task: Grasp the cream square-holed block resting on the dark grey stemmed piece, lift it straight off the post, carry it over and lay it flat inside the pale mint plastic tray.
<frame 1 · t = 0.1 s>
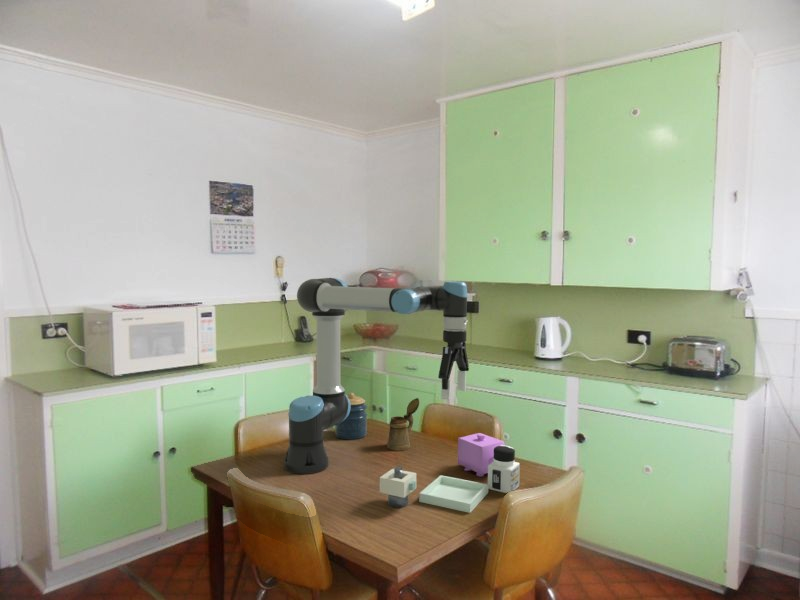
hand: (453, 394, 187), 28 cm above the table, fingers open, 13 cm apart
dark grey stemmed piece: (398, 503, 169), on the table
canister: (351, 435, 234), on the table
container: (503, 488, 182), on the table
cream square-holed block: (398, 490, 169), point 4 cm above the table, touching dark grey stemmed piece
teapot: (483, 472, 195), on the table
wooden mug: (403, 446, 221), on the table
tray: (454, 497, 174), on the table
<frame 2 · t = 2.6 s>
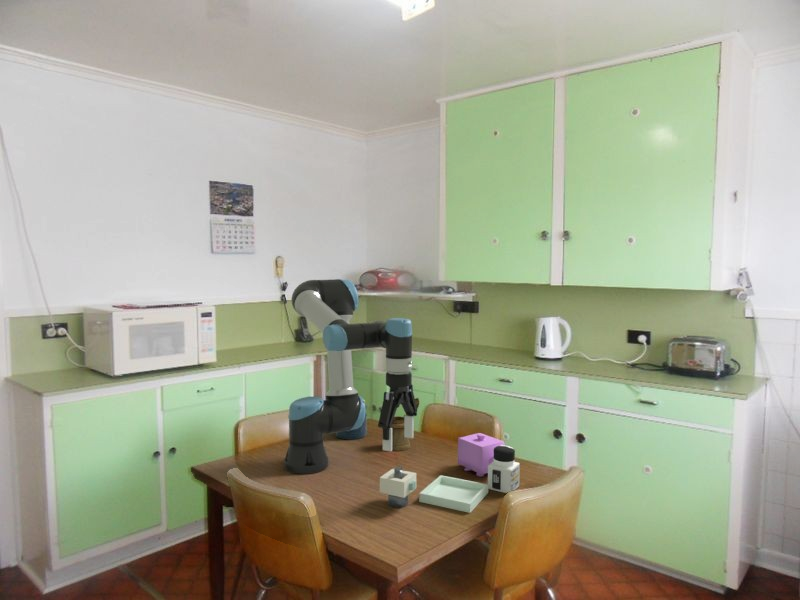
hand: (398, 443, 168), 18 cm above the table, fingers open, 13 cm apart
nothing on the table moved.
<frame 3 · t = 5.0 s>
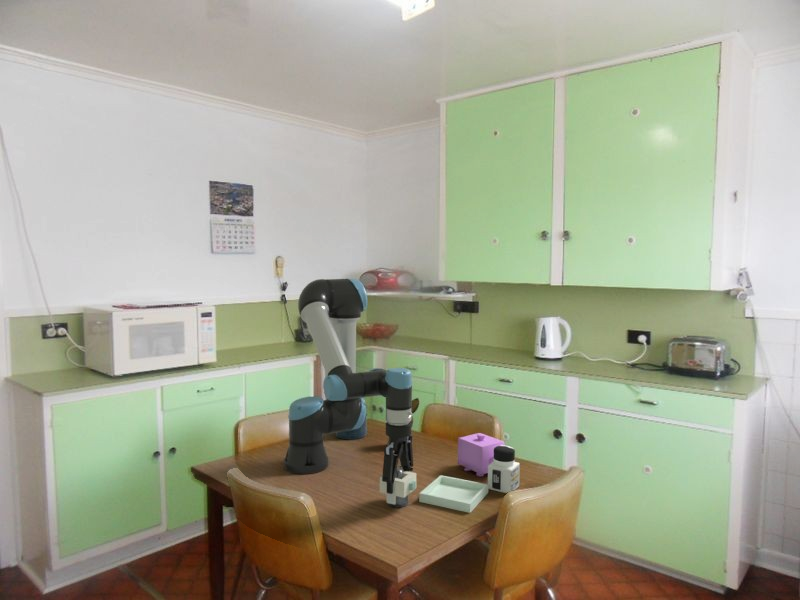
hand: (398, 497, 169), 2 cm above the table, fingers closed on cream square-holed block, 8 cm apart
cream square-holed block: (398, 490, 169), point 4 cm above the table, touching gripper, dark grey stemmed piece
everything else where it was.
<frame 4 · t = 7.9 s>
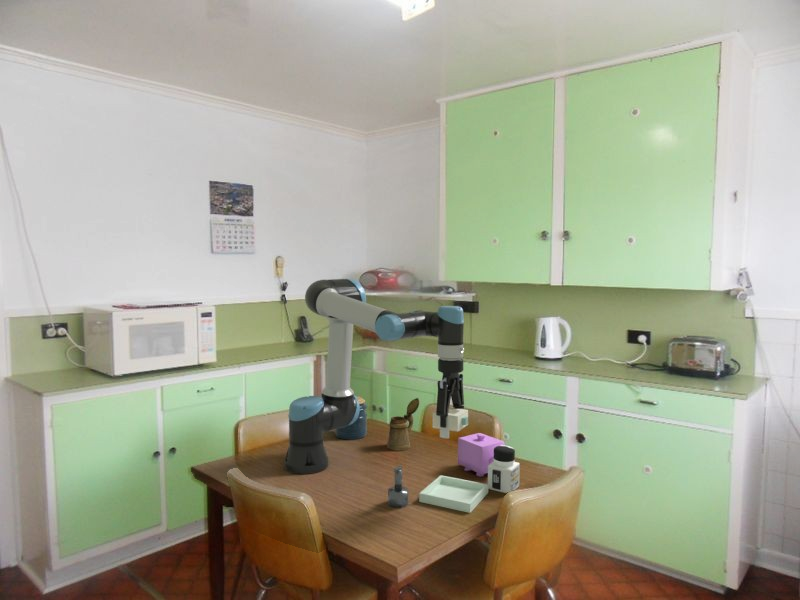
hand: (450, 433, 172), 20 cm above the table, fingers closed on cream square-holed block, 8 cm apart
cream square-holed block: (450, 426, 172), point 22 cm above the table, touching gripper
everything else where it was.
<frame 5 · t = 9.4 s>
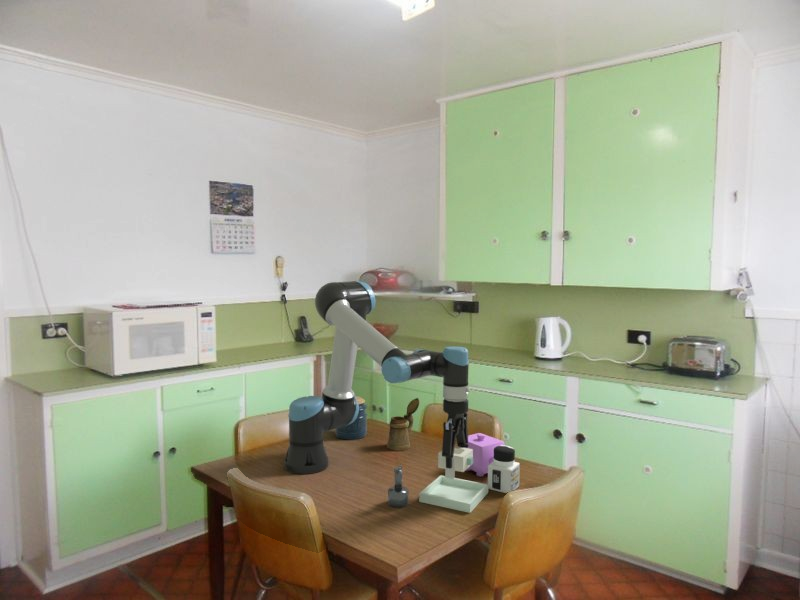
hand: (455, 473, 173), 8 cm above the table, fingers closed on cream square-holed block, 8 cm apart
cream square-holed block: (455, 465, 173), point 10 cm above the table, touching gripper
everything else where it was.
when the fingers open (3 cm above the table, at t = 10.8 s): cream square-holed block drops 4 cm, resting on tray.
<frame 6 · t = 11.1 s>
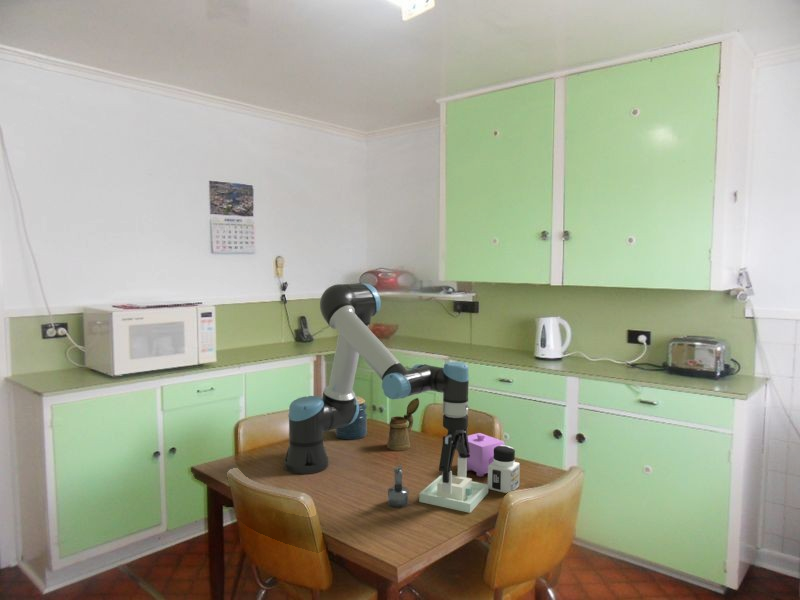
hand: (454, 485, 174), 4 cm above the table, fingers open, 11 cm apart
cream square-holed block: (454, 495, 174), point 1 cm above the table, touching tray
everything else where it was.
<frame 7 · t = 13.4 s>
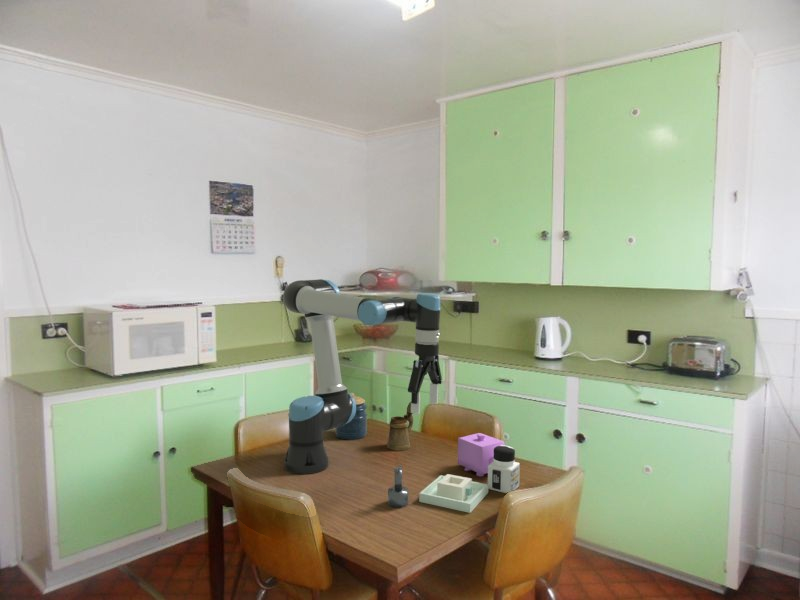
hand: (424, 408, 184), 24 cm above the table, fingers open, 13 cm apart
nothing on the table moved.
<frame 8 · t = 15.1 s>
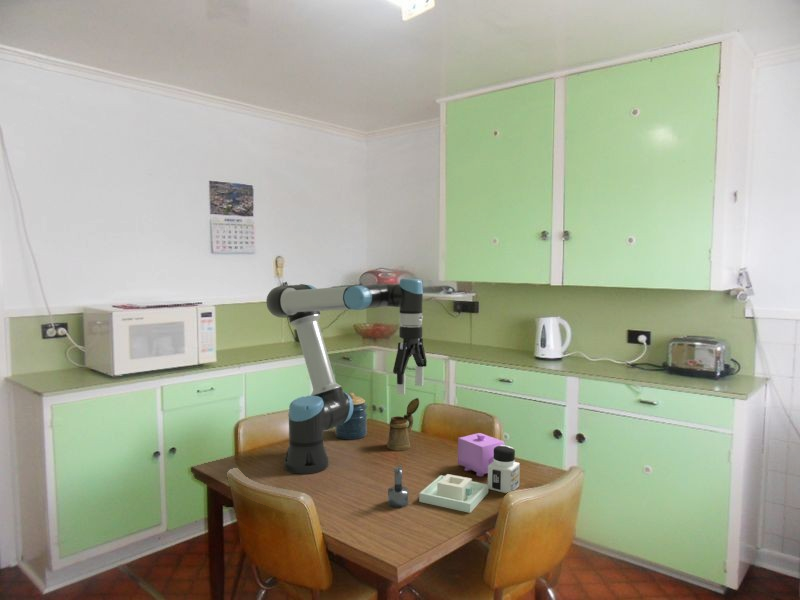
hand: (410, 389, 190), 29 cm above the table, fingers open, 13 cm apart
nothing on the table moved.
at the end: cream square-holed block inside the target area on the tray (0.0 cm from its centre), point 0.6 cm above the tray's base; cream square-holed block tilted 0°; the gripper is holding nothing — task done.
